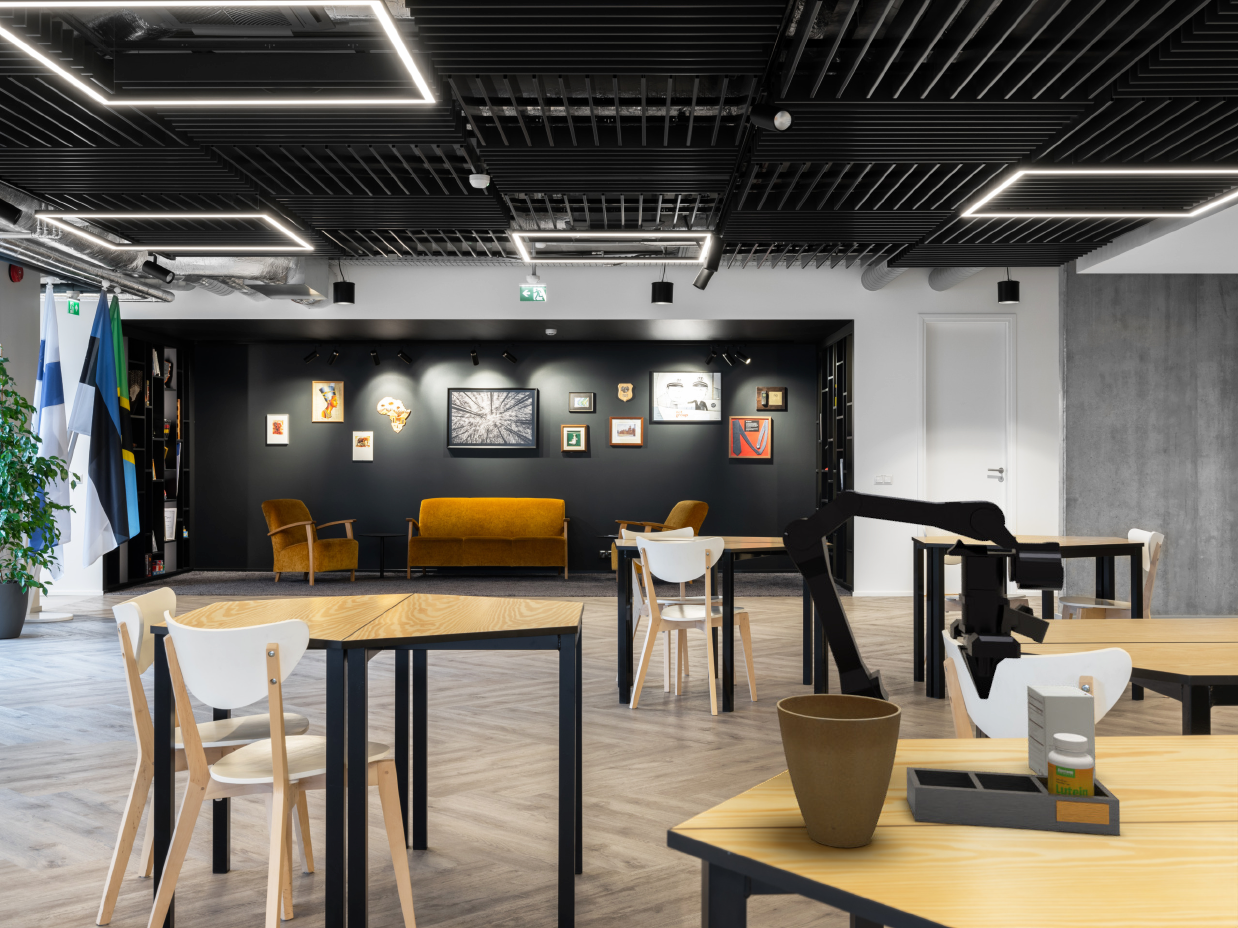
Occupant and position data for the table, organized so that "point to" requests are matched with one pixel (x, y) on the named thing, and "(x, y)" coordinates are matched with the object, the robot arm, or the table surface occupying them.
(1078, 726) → the supplement box
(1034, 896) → the table surface
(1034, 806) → the compartment organizer tray
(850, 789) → the plant pot
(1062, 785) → the supplement bottle
